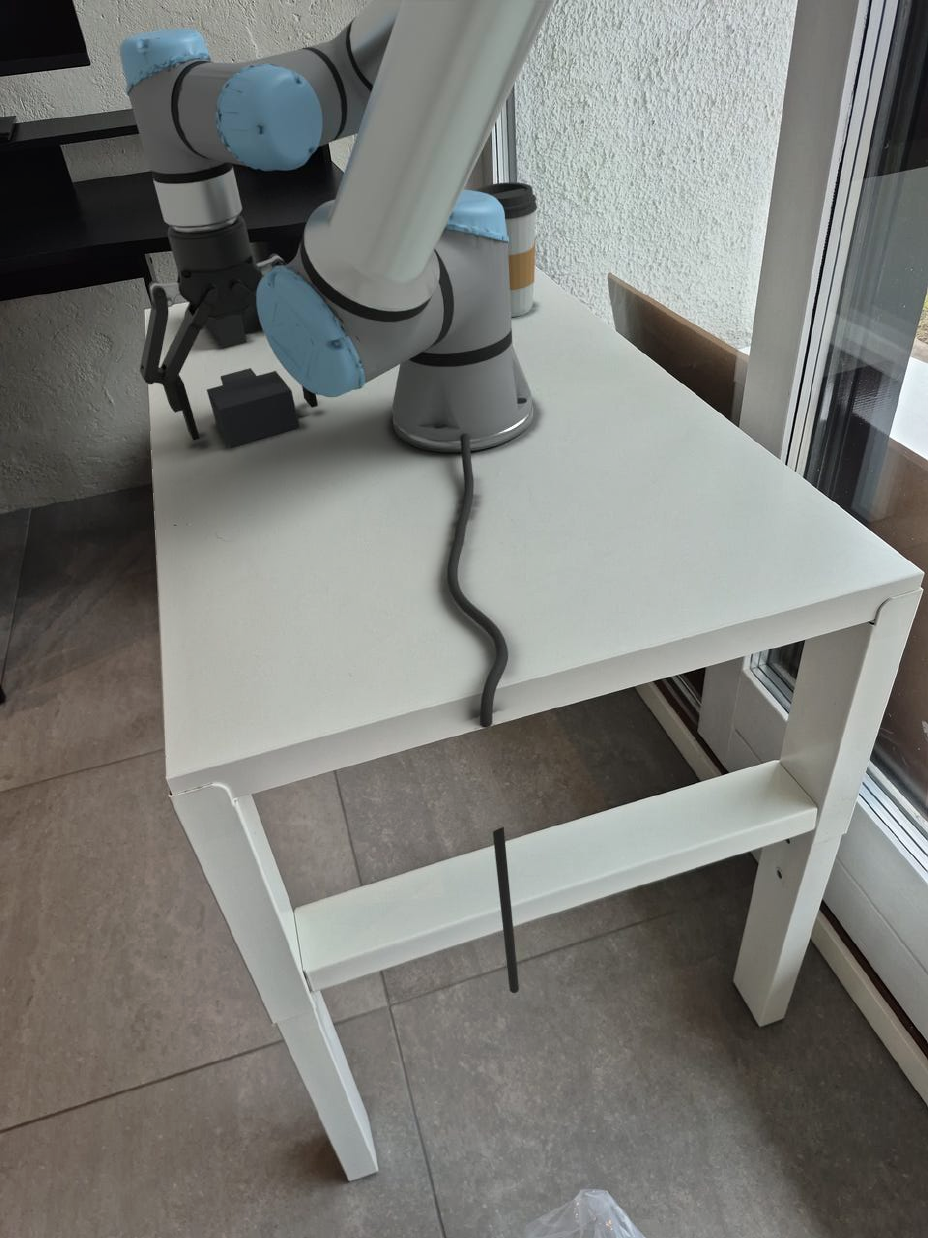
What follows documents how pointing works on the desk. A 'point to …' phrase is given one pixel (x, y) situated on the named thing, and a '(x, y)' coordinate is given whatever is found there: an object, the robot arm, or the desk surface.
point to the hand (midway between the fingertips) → (253, 418)
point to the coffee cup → (518, 240)
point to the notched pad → (234, 327)
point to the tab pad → (252, 406)
